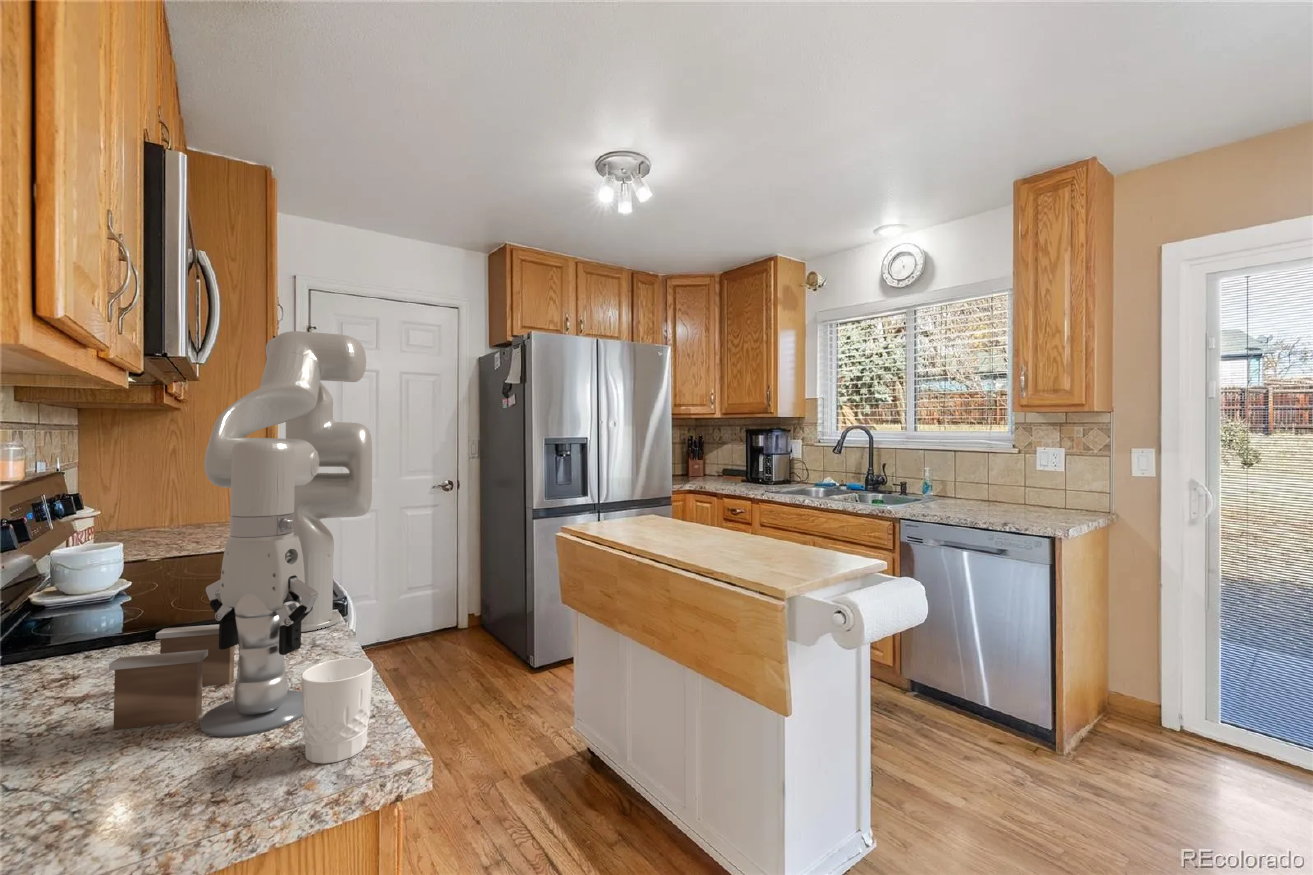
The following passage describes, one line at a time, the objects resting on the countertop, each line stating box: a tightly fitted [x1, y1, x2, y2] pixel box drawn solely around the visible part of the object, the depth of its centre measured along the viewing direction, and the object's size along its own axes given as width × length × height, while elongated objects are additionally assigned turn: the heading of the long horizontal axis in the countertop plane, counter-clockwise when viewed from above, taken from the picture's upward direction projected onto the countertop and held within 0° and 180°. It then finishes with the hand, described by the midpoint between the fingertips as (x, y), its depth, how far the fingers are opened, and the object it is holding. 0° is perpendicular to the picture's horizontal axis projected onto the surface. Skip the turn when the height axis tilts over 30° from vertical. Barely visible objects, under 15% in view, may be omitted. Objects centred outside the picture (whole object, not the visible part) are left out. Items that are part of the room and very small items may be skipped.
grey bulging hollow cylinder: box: [232, 594, 289, 715], centre depth 82 cm, size 6×7×20 cm
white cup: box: [300, 657, 374, 765], centre depth 73 cm, size 8×8×10 cm
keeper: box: [108, 623, 235, 731], centre depth 86 cm, size 16×10×9 cm, turn 20°
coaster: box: [199, 689, 303, 738], centre depth 82 cm, size 13×13×1 cm
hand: (260, 649), depth 82 cm, fingers open, 9 cm apart
